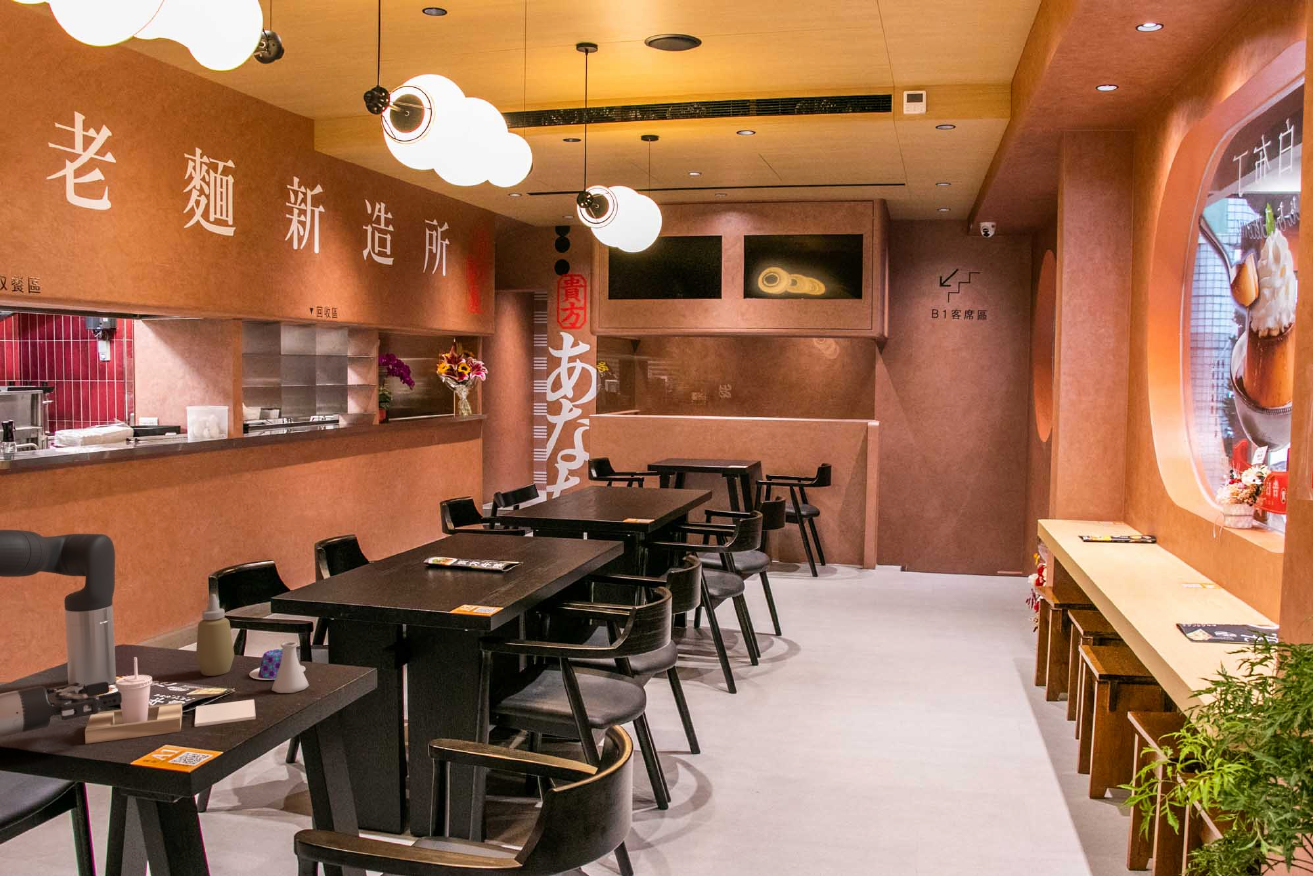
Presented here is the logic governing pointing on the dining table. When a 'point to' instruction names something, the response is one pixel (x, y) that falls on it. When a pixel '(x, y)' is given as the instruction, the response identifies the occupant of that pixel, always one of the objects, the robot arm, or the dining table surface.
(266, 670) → the pudding
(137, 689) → the smoothie
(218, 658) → the squeeze bottle
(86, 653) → the robot arm
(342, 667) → the dining table surface
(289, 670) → the flask
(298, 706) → the dining table surface
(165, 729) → the collar
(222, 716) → the ceramic pad
